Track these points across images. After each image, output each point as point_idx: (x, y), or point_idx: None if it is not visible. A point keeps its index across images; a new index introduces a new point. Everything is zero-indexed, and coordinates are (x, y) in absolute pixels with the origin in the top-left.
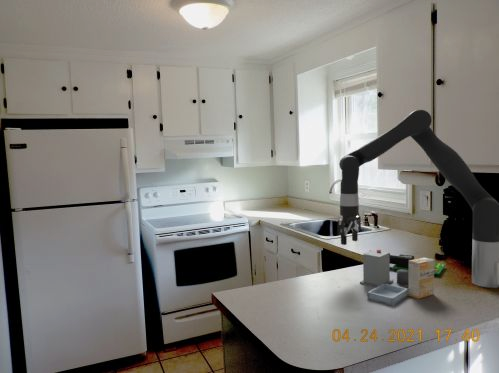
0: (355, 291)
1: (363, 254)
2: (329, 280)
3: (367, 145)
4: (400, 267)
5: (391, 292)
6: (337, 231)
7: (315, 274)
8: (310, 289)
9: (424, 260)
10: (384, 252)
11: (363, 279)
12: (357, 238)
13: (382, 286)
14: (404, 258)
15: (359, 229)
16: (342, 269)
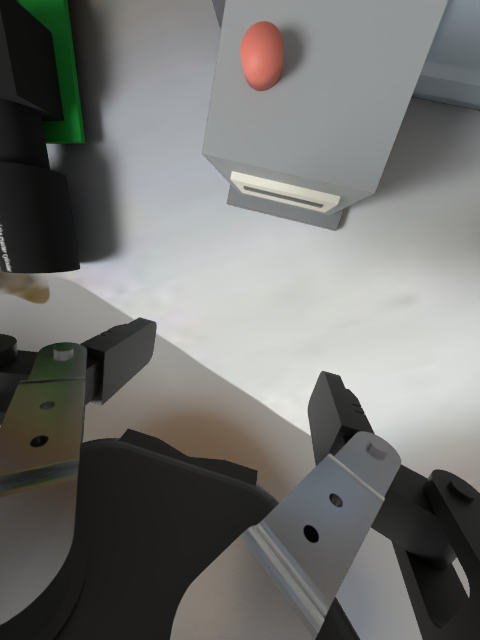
0: (449, 216)
1: (374, 191)
2: (334, 353)
3: None
4: (63, 97)
5: (454, 17)
6: (451, 591)
7: (282, 414)
8: (469, 387)
9: None
10: (246, 2)
11: (330, 214)
12: (130, 323)
13: (440, 69)
14: (5, 35)
15: (14, 344)
16: (181, 345)
